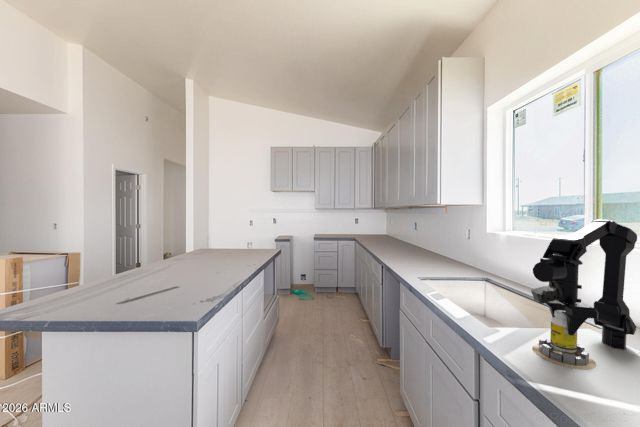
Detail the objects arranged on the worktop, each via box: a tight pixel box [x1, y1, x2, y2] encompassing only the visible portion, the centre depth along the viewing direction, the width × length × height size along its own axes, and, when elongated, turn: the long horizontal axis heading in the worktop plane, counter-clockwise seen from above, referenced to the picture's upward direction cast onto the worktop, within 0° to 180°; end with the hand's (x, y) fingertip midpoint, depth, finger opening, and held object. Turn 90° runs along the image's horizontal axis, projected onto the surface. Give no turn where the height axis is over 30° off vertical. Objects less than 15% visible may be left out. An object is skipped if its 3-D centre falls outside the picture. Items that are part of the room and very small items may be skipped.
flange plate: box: [532, 343, 597, 370], centre depth 89 cm, size 15×15×1 cm
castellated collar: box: [538, 337, 590, 366], centre depth 89 cm, size 11×11×3 cm
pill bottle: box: [549, 310, 578, 353], centre depth 89 cm, size 6×6×11 cm
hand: (563, 330), depth 89 cm, fingers closed on pill bottle, 6 cm apart
